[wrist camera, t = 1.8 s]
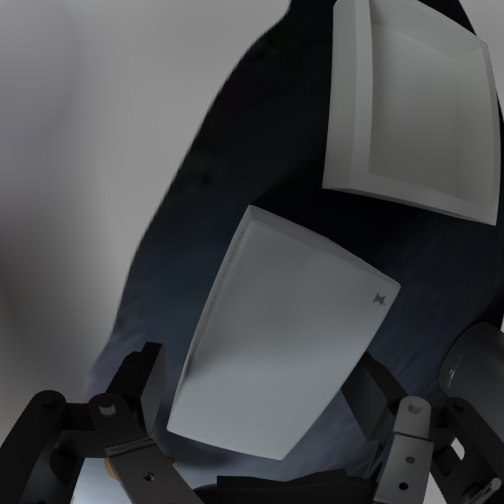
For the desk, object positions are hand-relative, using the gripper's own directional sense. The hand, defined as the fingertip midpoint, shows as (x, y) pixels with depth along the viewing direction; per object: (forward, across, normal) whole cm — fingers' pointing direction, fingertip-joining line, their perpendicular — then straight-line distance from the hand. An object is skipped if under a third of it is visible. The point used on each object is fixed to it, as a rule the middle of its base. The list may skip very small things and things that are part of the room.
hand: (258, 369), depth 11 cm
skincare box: (+9, -1, 0) cm, 9 cm away
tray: (+9, -11, -16) cm, 21 cm away
